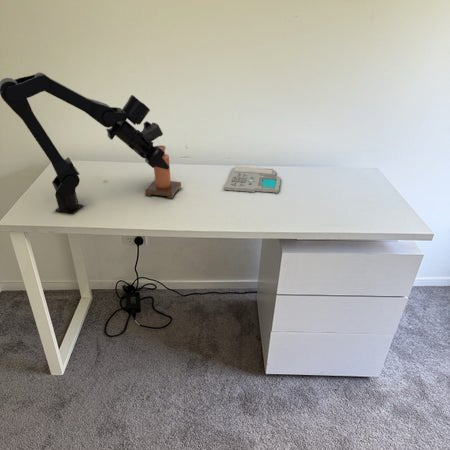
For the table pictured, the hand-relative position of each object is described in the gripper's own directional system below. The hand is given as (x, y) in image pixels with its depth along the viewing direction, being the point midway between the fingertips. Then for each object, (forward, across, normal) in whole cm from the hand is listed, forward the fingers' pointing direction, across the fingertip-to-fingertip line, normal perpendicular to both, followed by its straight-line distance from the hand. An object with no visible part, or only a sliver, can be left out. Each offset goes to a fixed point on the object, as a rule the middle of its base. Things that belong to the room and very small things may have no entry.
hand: (165, 165), depth 135 cm
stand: (+6, 0, +8) cm, 10 cm away
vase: (+4, 0, +6) cm, 7 cm away
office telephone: (+31, -5, -18) cm, 36 cm away
